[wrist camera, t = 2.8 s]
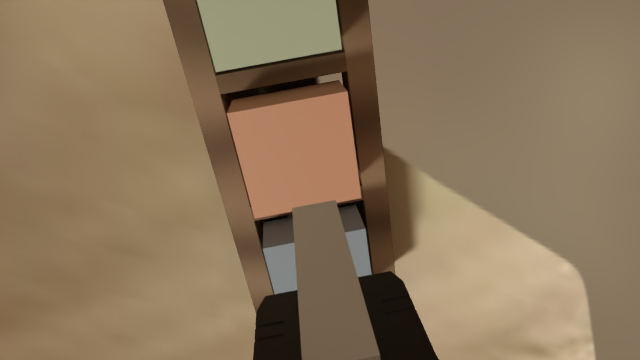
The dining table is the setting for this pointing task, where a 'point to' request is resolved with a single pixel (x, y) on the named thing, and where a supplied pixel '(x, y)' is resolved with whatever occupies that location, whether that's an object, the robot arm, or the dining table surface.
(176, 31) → the button board
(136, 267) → the dining table surface
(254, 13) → the cap sage
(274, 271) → the cap slate
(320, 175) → the cap terracotta
